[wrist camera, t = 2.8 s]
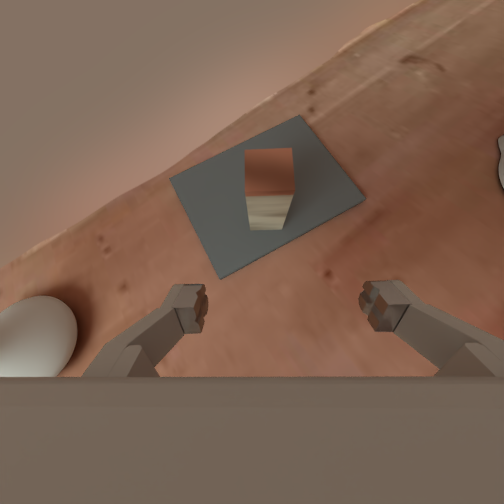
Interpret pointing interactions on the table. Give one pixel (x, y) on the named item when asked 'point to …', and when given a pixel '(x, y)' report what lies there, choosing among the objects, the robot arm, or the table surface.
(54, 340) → the flower in vase
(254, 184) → the birch block
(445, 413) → the robot arm
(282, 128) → the slate mat
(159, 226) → the table surface
